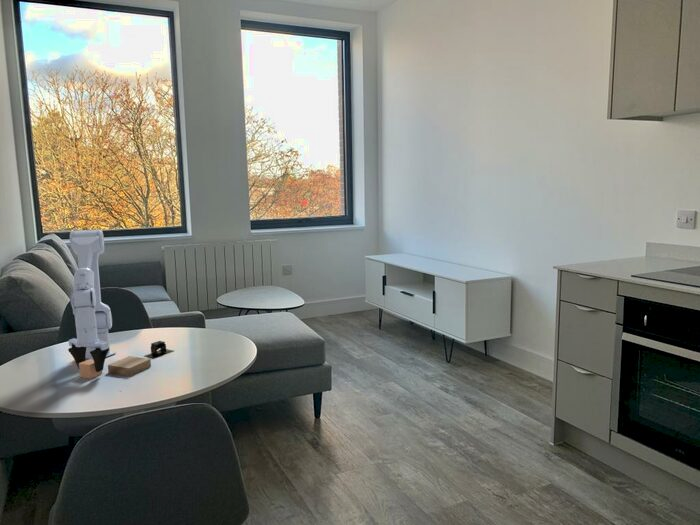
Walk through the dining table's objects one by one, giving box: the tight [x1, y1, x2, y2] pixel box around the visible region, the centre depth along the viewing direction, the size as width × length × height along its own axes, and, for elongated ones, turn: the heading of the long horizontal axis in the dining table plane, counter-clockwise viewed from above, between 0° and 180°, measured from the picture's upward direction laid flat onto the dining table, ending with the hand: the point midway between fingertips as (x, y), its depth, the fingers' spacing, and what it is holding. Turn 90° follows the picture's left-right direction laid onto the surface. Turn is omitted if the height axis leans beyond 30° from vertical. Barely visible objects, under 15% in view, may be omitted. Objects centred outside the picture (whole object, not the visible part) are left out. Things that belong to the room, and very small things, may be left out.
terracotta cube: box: [78, 359, 103, 379], centre depth 169 cm, size 4×4×4 cm
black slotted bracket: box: [143, 340, 175, 360], centre depth 189 cm, size 12×7×5 cm, turn 147°
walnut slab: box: [107, 355, 152, 377], centre depth 174 cm, size 9×9×3 cm
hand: (90, 369), depth 169 cm, fingers open, 7 cm apart
